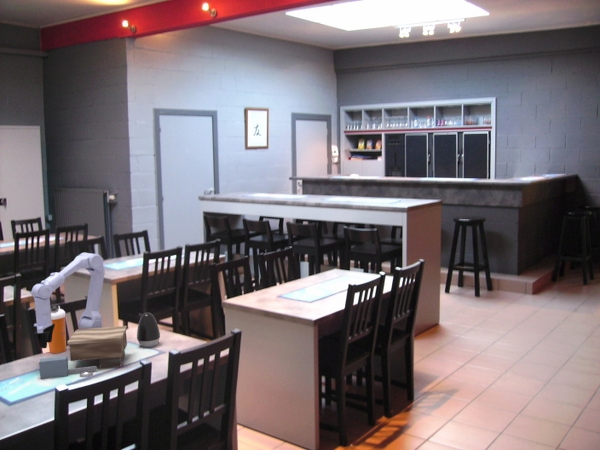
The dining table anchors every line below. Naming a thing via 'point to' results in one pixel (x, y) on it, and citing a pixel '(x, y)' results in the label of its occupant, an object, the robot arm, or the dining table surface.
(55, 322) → the shaker bottle
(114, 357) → the cabinet
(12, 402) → the dining table surface
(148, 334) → the black egg-shaped piece
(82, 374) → the steel token
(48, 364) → the grey block with tab
